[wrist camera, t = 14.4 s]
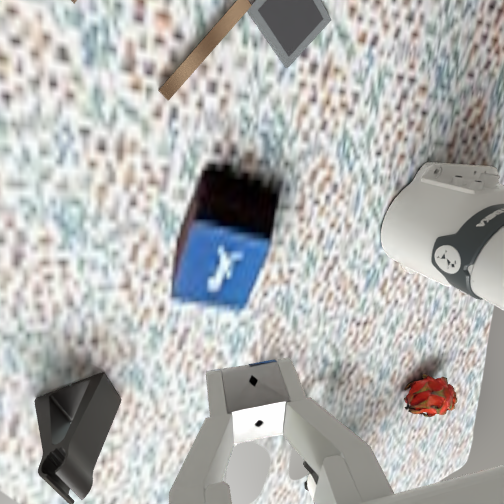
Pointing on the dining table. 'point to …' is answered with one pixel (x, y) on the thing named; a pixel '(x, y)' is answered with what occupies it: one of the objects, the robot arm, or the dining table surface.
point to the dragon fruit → (430, 396)
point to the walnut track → (203, 47)
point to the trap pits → (289, 24)
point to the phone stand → (75, 432)
